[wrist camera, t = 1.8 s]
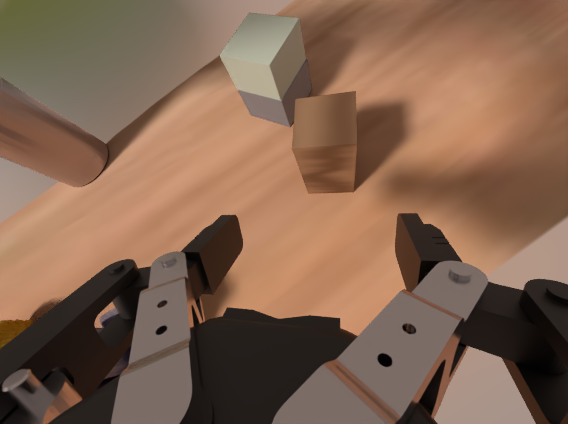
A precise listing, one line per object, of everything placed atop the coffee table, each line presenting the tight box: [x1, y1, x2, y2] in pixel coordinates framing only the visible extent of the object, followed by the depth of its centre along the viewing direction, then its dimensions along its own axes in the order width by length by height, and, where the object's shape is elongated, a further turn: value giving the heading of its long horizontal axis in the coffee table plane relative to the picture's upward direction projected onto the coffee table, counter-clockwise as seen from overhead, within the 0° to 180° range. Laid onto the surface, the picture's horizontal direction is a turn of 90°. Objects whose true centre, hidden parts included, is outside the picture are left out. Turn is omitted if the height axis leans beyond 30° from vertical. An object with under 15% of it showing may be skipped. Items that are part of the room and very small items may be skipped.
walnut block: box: [292, 91, 357, 194], centre depth 26 cm, size 6×6×10 cm
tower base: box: [238, 60, 312, 127], centre depth 34 cm, size 7×7×5 cm
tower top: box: [219, 13, 306, 101], centre depth 30 cm, size 7×7×5 cm
